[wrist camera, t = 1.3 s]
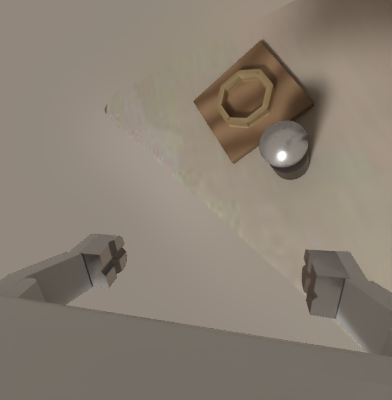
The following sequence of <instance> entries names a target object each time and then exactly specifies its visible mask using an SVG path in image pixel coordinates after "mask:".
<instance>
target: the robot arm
mask: <svg viewBox="0 0 392 400" xmlns="http://www.w3.org/2000/svg"><path fill="white" fill-rule="evenodd" d="M123 245H124V241H123V238H122V237H121V236H115V235H105V234H90V235H89V236H88V237H87V238H85V239H84V240H83V241H82V242H81V243H79V244H78V245H77V246H76V247H75V248H73V249H72V250H71V251H70V252H65V253H62V254H60V255H57V256H55V257H52V258H49V259H47V260H44V261H42V262H39V263H37V264H34V265H31V266H29V267H26V268H24V269H21V270H19V271H16V272H14V273H11V274H9V275H7V276H6V277H5V278H3V279H2V280H0V400H392V293H391V292H389V291H388V290H386V289H385V288H383V287H381V286H380V285H378V284H377V283H375V282H373V281H368V280H367V278H366V277H365V275H364V273H363V272H362V270H361V269H360V267H359V266H358V264H357V262H356V261H355V259H354V258H353V256H352V255H351V253H350V252H347V251H322V250H305V254H304V261H305V264H306V265H304V266H303V267H302V286H303V290H304V292H305V293H306V294H307V297H306V302H307V306H308V309H309V313H310V315H316V316H322V317H328V318H334V319H336V321H337V322H338V323H339V324H340V325H341V326H342V327H343V328H344V329H345V330H346V331H347V333H348V334H349V335H350V336H351V337H352V338H353V339H354V340H355V341H356V342H357V343H358V344H359V345H360V346H361V347H362V349H363V350H364V351H365V352H366V353H364V352H358V351H351V350H345V349H339V348H333V347H326V346H320V345H313V344H307V343H300V342H294V341H288V340H282V339H275V338H269V337H263V336H256V335H250V334H244V333H238V332H231V331H225V330H219V329H213V328H206V327H200V326H194V325H187V324H181V323H175V322H169V321H162V320H156V319H150V318H143V317H137V316H130V315H124V314H117V313H112V312H105V311H98V310H92V309H86V308H80V307H74V306H67V305H66V304H68V303H69V302H71V301H72V300H74V299H75V298H77V297H78V296H80V295H81V294H83V293H84V292H86V291H88V290H89V289H90V288H92V287H102V288H109V287H110V286H111V285H112V283H113V282H114V281H115V279H116V278H117V275H116V274H117V273H119V272H121V271H122V270H123V269H124V267H125V265H126V262H127V254H126V251H125V250H124V249H123V248H122V247H123Z"/></svg>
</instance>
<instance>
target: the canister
mask: <svg viewBox="0 0 392 400" xmlns="http://www.w3.org/2000/svg"><path fill="white" fill-rule="evenodd" d="M259 149H260V153H261V155H262V157H263V158H264V159H265V160H266V161H267V162H268V163H269V164H270V166H271V167H272V168H273V169H274V171H275V172H276V173H277V174H278V175H279V176H280V177H281V178H284V179H288V180H293V179H297V178H299V177H301V176H302V175H304V174H305V172H306V171H307V170H308V167H309V152H308V135H307V132H306V130H305V129H304V128H303V127H302V126H301V125H300V124H298V123H297V122H294V121H288V120H285V121H279V122H276V123H274V124H272V125H271V126H269V127H268V128H267V129H266V130H265V131H264V133H263V134H262V136H261V139H260V143H259Z"/></svg>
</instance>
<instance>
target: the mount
mask: <svg viewBox="0 0 392 400" xmlns="http://www.w3.org/2000/svg"><path fill="white" fill-rule="evenodd" d="M193 102H194V104H195V105H196V107H197V108H198V110H199V111H200V113H201V115H202V116H203V118H204V119H205V121H206V122H207V124H208V125H209V127H210V129H211V130H212V132H213V133H214V135H215V136H216V138H217V140H218V141H219V143H220V144H221V146H222V147H223V149H224V151H225V152H226V154H227V155H228V157H229V158H230V160H231V162H232V163H236V162H237V161H238V160H240V159H241V158H242V157H244V156H245V155H247V154H248V153H249V152H251V151H252V150H253V149H255V148H256V147H258V146H259V143H260V139H261V136H262V134H263V133H264V131H265V130H266V129H267V128H268V127H269V126H271V125H272V124H274V123H276V122H279V121H285V120H288V121H293V120H295V119H296V118H298V117H299V116H300V115H302V114H303V113H304V112H306V111H307V110H309V109H310V108H311V107H313V106H314V102H313V101H312V100H311V98H310V97H309V96H308V95H307V94H306V93H305V92H304V90H303V89H302V88H301V87H300V86H299V85H298V84H297V83H296V81H295V80H294V79H293V78H292V77H291V76H290V75H289V73H288V72H287V71H286V70H285V69H284V68H283V67H282V65H281V64H280V63H279V62H278V61H277V60H276V59H275V57H274V56H273V55H272V54H271V53H270V52H269V51H268V49H267V48H266V47H265V46H264V45H263V44H262V43H261V41H259V42H258V43H257V44H256V45H255V46H254V47H253V48H252V49H251V50H250V51H248V52H247V53H246V54H245V55H244V56H243V57H242V58H241V59H240V60H238V61H237V62H236V63H235V64H234V65H233V66H232V67H231V68H230V69H229V70H227V71H226V72H225V73H224V74H223V75H222V76H221V77H220V78H219V79H217V80H216V81H215V82H214V83H213V84H212V85H211V86H210V87H209V88H208V89H206V90H205V91H204V92H203V93H202V94H201V95H200V96H199V97H198V98H197V99H195V100H194V101H193Z"/></svg>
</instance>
